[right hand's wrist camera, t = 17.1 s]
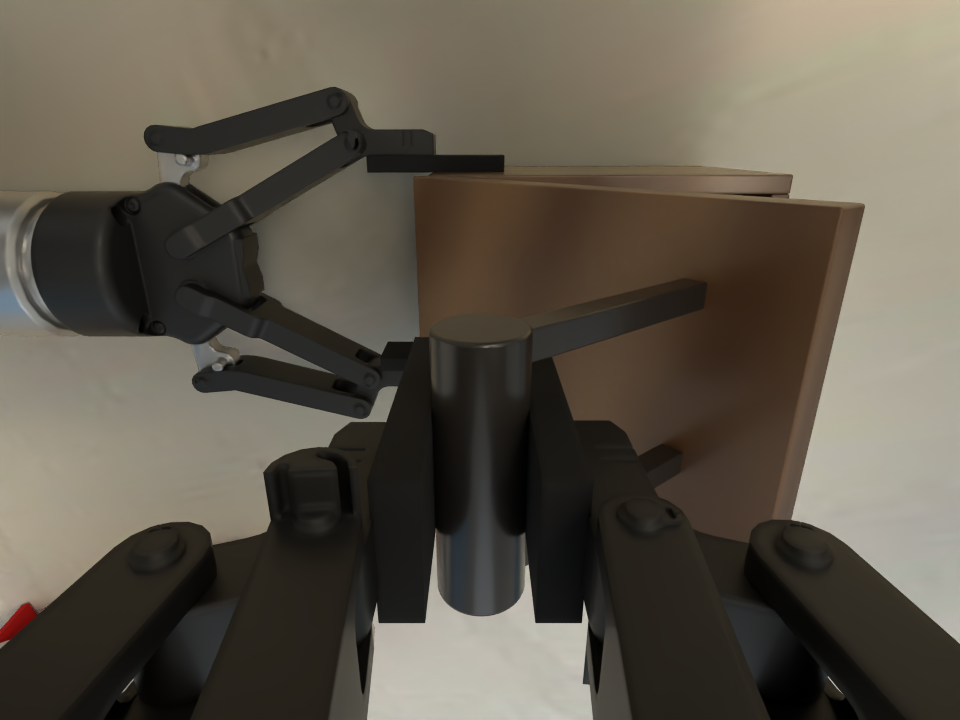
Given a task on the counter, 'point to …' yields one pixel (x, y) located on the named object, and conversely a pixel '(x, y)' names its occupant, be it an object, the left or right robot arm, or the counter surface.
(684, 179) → the chest
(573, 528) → the right robot arm
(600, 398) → the lid
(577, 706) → the counter surface
